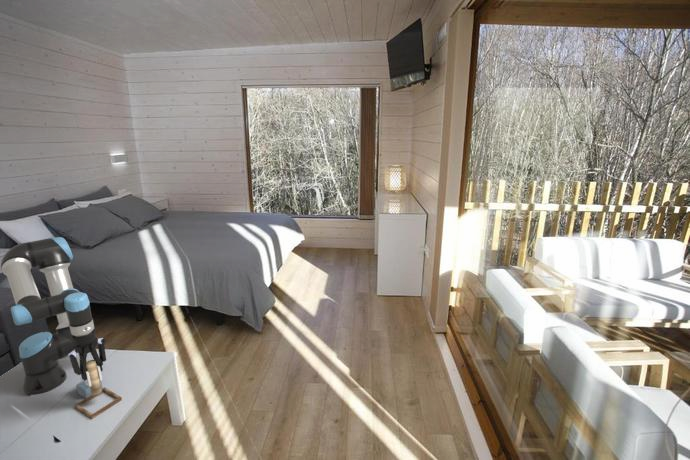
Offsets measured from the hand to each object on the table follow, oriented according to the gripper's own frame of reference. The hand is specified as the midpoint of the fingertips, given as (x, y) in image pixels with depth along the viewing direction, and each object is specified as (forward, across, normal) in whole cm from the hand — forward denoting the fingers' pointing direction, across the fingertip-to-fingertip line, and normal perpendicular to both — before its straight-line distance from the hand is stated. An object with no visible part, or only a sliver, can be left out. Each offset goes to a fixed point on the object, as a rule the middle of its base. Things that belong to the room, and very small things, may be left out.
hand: (94, 381), depth 153 cm
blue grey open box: (+12, +3, +11) cm, 16 cm away
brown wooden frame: (+12, 0, 0) cm, 12 cm away
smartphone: (+12, -13, +1) cm, 18 cm away
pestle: (+6, 0, 0) cm, 6 cm away
